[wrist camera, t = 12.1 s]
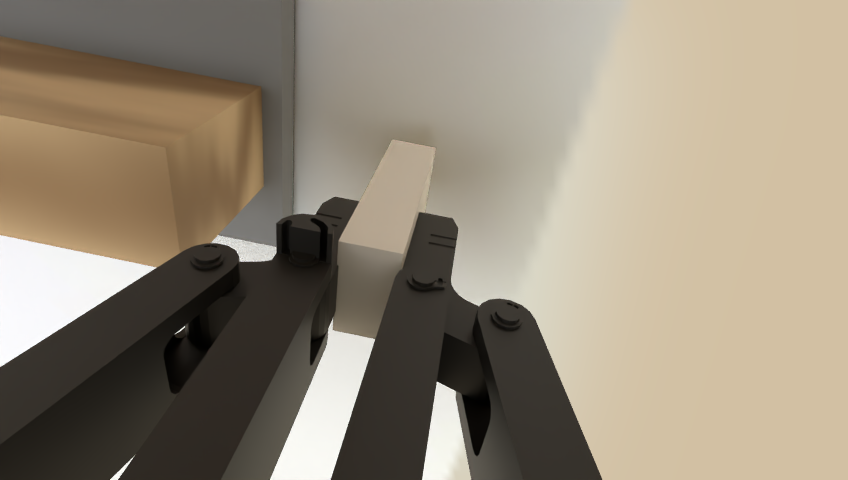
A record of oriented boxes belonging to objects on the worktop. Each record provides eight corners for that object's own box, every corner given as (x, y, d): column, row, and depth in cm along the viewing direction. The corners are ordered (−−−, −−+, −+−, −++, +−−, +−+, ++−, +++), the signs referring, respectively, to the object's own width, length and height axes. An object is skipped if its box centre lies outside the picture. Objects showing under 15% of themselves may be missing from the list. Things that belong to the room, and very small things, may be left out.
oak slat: (-110, 14, 18) (-345, 46, 13) (261, 86, 18) (165, 147, 13) (-69, 120, 20) (-257, 182, 15) (264, 186, 20) (182, 272, 15)
